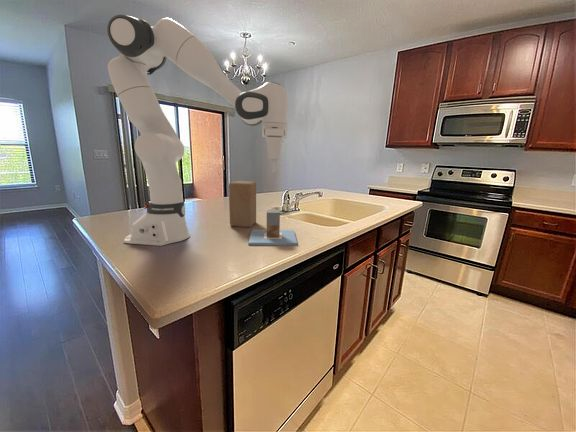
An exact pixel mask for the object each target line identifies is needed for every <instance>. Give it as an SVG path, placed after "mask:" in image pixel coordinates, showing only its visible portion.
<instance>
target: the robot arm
mask: <svg viewBox="0 0 576 432" xmlns="http://www.w3.org/2000/svg"><path fill="white" fill-rule="evenodd" d="M106 30H107V31H106V32H107V35H108V39H109V40H110V42H111V44H112V45H113V46H114V48H115V49H116V50H117V51H118V52H119V53H120V54H119V55H118V56H116V57H113V58H112V59H111V60H110V61H108V63H107V71H108V75H109V78H110V81H111V82H110V83H111V84H112V87H113V88H114V91H115V94H116V96H117V98H118V100H119V102H120V103H121V107H123V110H124V112H125V115H126V116H127V117H128V119H129V121H130V123H131V124H132V125H133V126H134V127H135V128H136V129H137V131H139V133H140V135H139V136H137V138H136V139H135V142H134V151H135V153H136V156H137V157H138V158H139V159H140V161H141V164H142V166H143V169H144V173H145V176H146V178H147V184H148V191H149V199H150V202H148V203H147V204H146V205H144V206H143V207H144V208H143V210H145V209H146V212H145V213H144V214H142V216H140V217H139V218H138V219H137V220H135V221H134V222H133V223H132V224H131V229H130V234H128V235H126V237H125V238H124V244H134V245H135V244H136V245H145V246H147V245H148V246H161V247H162V246H166V245H168V244H172V243H173V244H174V243H177V242H181V241H185V240H186V239H188V238H189V237H190V236H191V234H190V231H189V229H188V225H187V222H186V206H185V201H184V198H183V185H182V184H183V182H182V179H181V177H180V175H179V171H178V168H177V164H176V163H177V162H179V161H180V160H182V158H183V157H184V154H185V146H184V144H183V142H182V141H181V139H180V138H179V136H178V134H177V132H176V130H175V129H174V127H173V126H172V125H171V123H170V121H169V119H168V118H167V115H165V113H164V111H163V109H162V107H161V104H160V103H159V101H158V98H157V96H156V95H155V93H154V90H153V88H152V86H151V83H150V81H149V79H148V75H149V76H150V75H152V74H154V73H155V72H156V71H158V70H160V69H161V68H163V67H164V65H165V64H166V61H167V59H168V60H170V61H171V62H172V63H173V64H174V65H175V66H177V67H178V68H179V69H180V70H181V71H183V72H184V73H185V74H187V75H188V76H190V77H191V78H193V79H195V80H196V81H198V82H199V83H201V84H203V85H205V86H206V87H209V88H210V89H212V90H213V91H214V92H216V93H217V94H218V95H220V97H222V98H223V99H224V100H225V101H227V102H228V104H230V105H231V106H232V107H233V108H234V109H235V111H236V113H237V115H238V117H239V118H240V119H241V120H242V122H243V123H244V124H245V125H247V126H250V127H255V126H258V125H260V124H261V130H262V131H261V132H262V133H261V134H262V135H261V136H262V137H263V138H265V143H266V144H267V156H268V159H269V160H270V167H271V168H270V170H271V171H270V172H271V173H277V167H278V166H277V165H278V160H279V159H280V157H281V150H282V143H283V142H284V139H286V138H287V137H288V136H287V131H288V130H287V129H288V126H287V125H288V123H287V114H288V94H287V90H286V88H285V86H283V85H281V84H280V83H278V82H275V81H268V82H265V83H263V85H261V86H259V87H256V88H253V89H251V90H248V91H247V90H246V91H242V90H241V89H240V88H238V87H237V86H236V85H235V84H234V83H233V82H232V81H231V80H230V79H229V78H228V77H227V76H226V74H224V72H223V70H222V69H221V67H220V66H219V63H218V62H217V60H216V58H215V56H214V55H213V53H211V50H209V49H208V47H207V46H206V45H205V44H204V43H203V42H202V41H201V40H200V39H199V38H198V37H196V35H194V34H193V33H192V32H191V31H189V30H188V29H187V28H186V27H184V26H183V25H182V24H180V23H178V22H177V21H175V20H173V19H172V18H169V17H165V18H161V19H159V20H158V21H157V22H156V23H155V25H153V26H151V25H150V23H149V22H148V21H147V20H145V19H141V18H137V17H134V16H130V15H126V14H116V15H113V16H112V17H111V18H110V20H109V21H108V23H107V29H106Z"/></svg>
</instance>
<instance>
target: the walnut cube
mask: <svg viewBox="0 0 576 432" xmlns="http://www.w3.org/2000/svg"><path fill="white" fill-rule="evenodd" d="M280 225H281V224H280ZM280 225H267V224H266V230H267V238H279V234H280V230H281V226H280Z"/></svg>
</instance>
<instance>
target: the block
mask: <svg viewBox="0 0 576 432" xmlns="http://www.w3.org/2000/svg"><path fill="white" fill-rule="evenodd" d="M228 204H229V205H228V206H229V209H228V210H229V225H230V226H231V227H238V228H239V227H242V228H250V227H252V226H254V224H255V223H257V182H256V181H253V180H252V181H250V180H236V181H232V182H229V183H228Z"/></svg>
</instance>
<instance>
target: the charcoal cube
mask: <svg viewBox="0 0 576 432" xmlns="http://www.w3.org/2000/svg"><path fill="white" fill-rule="evenodd" d="M280 211H281V210H280V209H267V210H266V226H267V225H281V224H280V223H281V222H280V221H281V220H280V219H281V214H280V213H281V212H280Z"/></svg>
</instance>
